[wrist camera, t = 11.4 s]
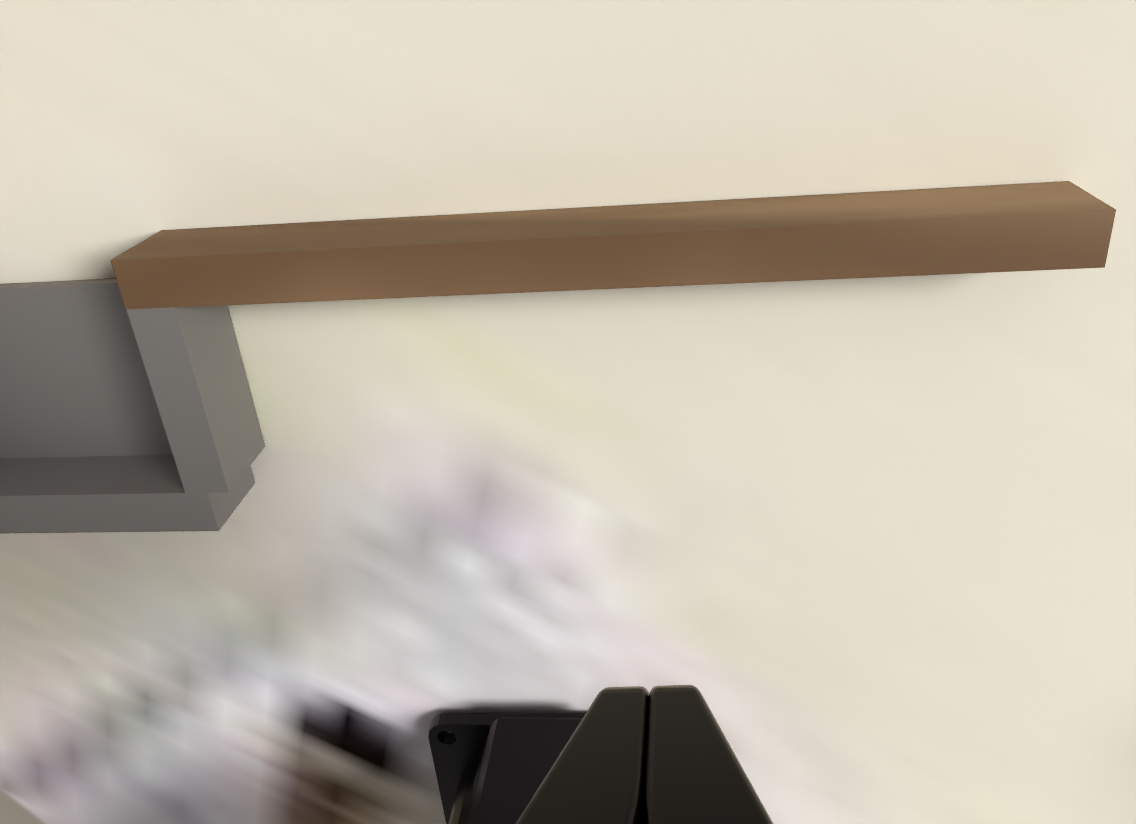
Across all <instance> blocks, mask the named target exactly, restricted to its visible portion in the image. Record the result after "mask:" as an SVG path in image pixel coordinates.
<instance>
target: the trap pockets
mask: <svg viewBox="0 0 1136 824" xmlns="http://www.w3.org/2000/svg"><path fill="white" fill-rule="evenodd" d="M264 447H265V444H264V441H263V437H262V433H261V429H260V426H259V422H258V418H257V414H256V411H255V407H254V403H253V399H252V396H251V392H250V388H249V384H248V381H247V377H246V373H245V369H244V366H243V362H242V358H241V354H240V351H239V347H238V343H237V339H236V336H235V332H234V328H233V324H232V321H231V317H230V313H229V309H228V306H227V305H218V306H195V307H172V308H149V309H126V307H125V304H124V301H123V298H122V294H121V291H120V288H119V285H118V282H117V279H96V280H75V281H54V282H33V283H12V284H0V533H67V532H159V531H219V530H220V529H221V527H222V526H223V525H224V523H225V522H226V521H227V519H228V518H229V517H230V515H231V514H232V513H233V511H234V510H235V509H236V507H237V506H238V505H239V503H240V502H241V501H242V499H243V498H244V497H245V495H246V494H247V493H248V491H249V490H250V489H251V487H252V486H253V485H254V483H255V481H254V478H253V474H252V471H251V467H250V465H251V464H252V462H253V461H254V460H255V458H256V457H257V456H258V455H259V453H260V452H261V451H262V450H263V448H264Z"/></svg>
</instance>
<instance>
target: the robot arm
mask: <svg viewBox="0 0 1136 824" xmlns="http://www.w3.org/2000/svg"><path fill="white" fill-rule="evenodd" d="M445 731H450V732H452V733H448V732H445ZM429 742H430V746H431V751H432V756H433V761H434V766H435V771H436V775H437V780H438V785H439V790H440V795H441V800H442V804H443V809H444V814H445V819H446V824H773V822H772V821H771V819H770V817H769V815H768V813H767V812H766V810H765V808H764V806H763V804H762V803H761V801H760V799H759V797H758V795H757V794H756V792H755V790H754V788H753V786H752V785H751V783H750V781H749V779H748V777H747V776H746V774H745V772H744V770H743V768H742V766H741V765H740V763H739V761H738V759H737V757H736V756H735V754H734V752H733V750H732V748H731V747H730V745H729V743H728V741H727V739H726V738H725V736H724V734H723V732H722V730H721V729H720V727H719V725H718V723H717V721H716V720H715V718H714V716H713V714H712V712H711V710H710V709H709V707H708V705H707V703H706V701H705V700H704V698H703V696H702V694H701V693H700V691H699V690H698V689H697V688H696V687H695V686H693V685H672V686H655V687H654V688H652V690H651V691H650V694H649V692H648V691H647V689H645V688H644V687H640V686H638V687H608V688H605V689H603V690H602V691H600V693H599V694H598V695H597V697H596V698H595V700H594V701H593V703H592V705H591V706H590V708H589V709H588V711H587V712H586V714H585V715H571V714H502V713H442V714H439V715H437V716H435V718H434V719H433V721H432V723H431V727H430V730H429Z"/></svg>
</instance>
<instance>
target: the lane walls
mask: <svg viewBox="0 0 1136 824" xmlns="http://www.w3.org/2000/svg"><path fill="white" fill-rule="evenodd" d="M1115 212H1116V210H1115V209H1114V208H1112V207H1111V206H1109V205H1107V204H1106V203H1104V202H1102V201H1101V200H1099V199H1097V198H1096V197H1094V196H1093V195H1091V194H1089V193H1088V192H1086V191H1084V190H1083V189H1081V188H1079V187H1078V186H1076V185H1075V184H1073V183H1071V182H1070V181H1064V182H1046V183H1027V184H1009V185H990V186H972V187H954V188H935V189H917V190H898V191H880V192H861V193H843V194H824V195H806V196H787V197H769V198H750V199H732V200H713V201H695V202H676V203H658V204H639V205H621V206H602V207H584V208H566V209H547V210H529V211H510V212H492V213H473V214H455V215H436V216H418V217H399V218H381V219H362V220H344V221H325V222H307V223H288V224H270V225H251V226H233V227H214V228H196V229H177V230H162V231H160V232H158V233H157V234H155V235H153V236H151V237H150V238H148V239H146V240H144V241H143V242H141V243H139V244H138V245H136V246H134V247H132V248H131V249H129V250H127V251H126V252H124V253H122V254H120V255H119V256H117V257H115V258H114V259H112V260H111V263H112V266H113V270H114V273H115V276H116V279H117V282H118V285H119V288H120V291H121V294H122V298H123V301H124V304H125V307H126V309H149V308H172V307H195V306H218V305H242V304H265V303H288V302H311V301H335V300H358V299H381V298H404V297H428V296H451V295H474V294H497V293H521V292H544V291H567V290H590V289H614V288H637V287H660V286H683V285H707V284H730V283H753V282H777V281H800V280H823V279H846V278H870V277H893V276H916V275H939V274H963V273H986V272H1009V271H1032V270H1056V269H1079V268H1102V267H1105V263H1106V258H1107V253H1108V248H1109V243H1110V238H1111V233H1112V227H1113V222H1114V217H1115Z"/></svg>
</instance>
